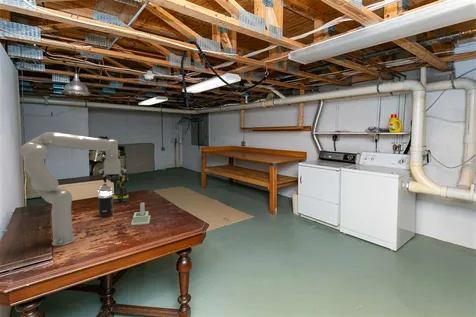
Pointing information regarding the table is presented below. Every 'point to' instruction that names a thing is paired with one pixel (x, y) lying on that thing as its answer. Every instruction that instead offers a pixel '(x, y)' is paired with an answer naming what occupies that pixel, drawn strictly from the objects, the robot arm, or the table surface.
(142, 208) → the bracket
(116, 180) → the power drill
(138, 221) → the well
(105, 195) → the black silver cylindrical canister
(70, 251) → the table surface
